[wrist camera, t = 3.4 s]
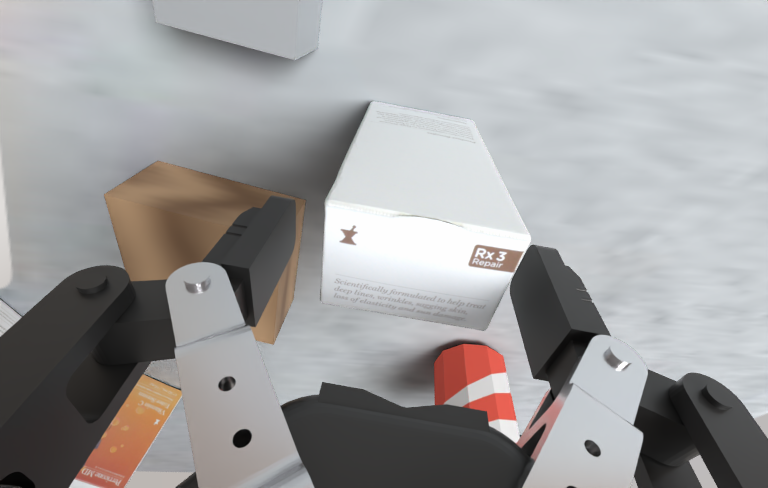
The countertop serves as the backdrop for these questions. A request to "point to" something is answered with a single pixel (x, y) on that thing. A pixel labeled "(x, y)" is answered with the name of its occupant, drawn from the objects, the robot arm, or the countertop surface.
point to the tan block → (191, 228)
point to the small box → (129, 436)
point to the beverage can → (476, 385)
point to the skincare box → (420, 221)
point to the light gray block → (249, 22)
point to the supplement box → (7, 317)
